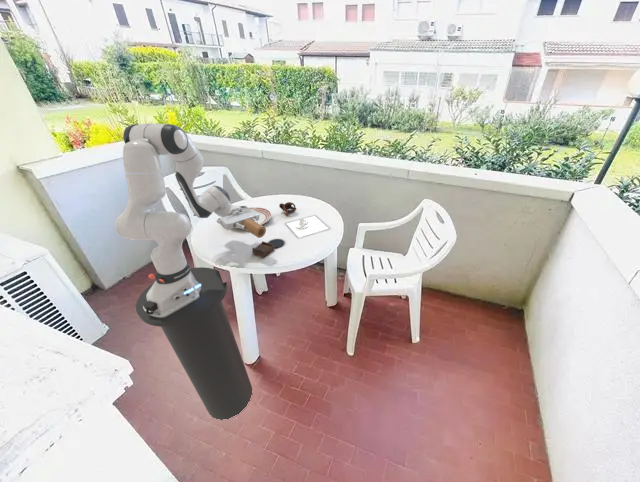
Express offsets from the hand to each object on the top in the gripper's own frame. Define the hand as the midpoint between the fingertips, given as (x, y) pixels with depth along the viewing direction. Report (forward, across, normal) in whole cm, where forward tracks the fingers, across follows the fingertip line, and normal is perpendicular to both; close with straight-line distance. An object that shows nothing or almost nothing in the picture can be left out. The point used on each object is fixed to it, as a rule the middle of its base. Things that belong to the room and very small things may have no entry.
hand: (250, 225), depth 141 cm
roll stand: (+6, +4, +15) cm, 16 cm away
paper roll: (+3, 0, 0) cm, 3 cm away
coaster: (+5, +14, +14) cm, 20 cm away
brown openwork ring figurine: (-18, +46, +13) cm, 51 cm away
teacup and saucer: (+5, +39, +10) cm, 40 cm away
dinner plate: (-29, +23, +18) cm, 41 cm away
